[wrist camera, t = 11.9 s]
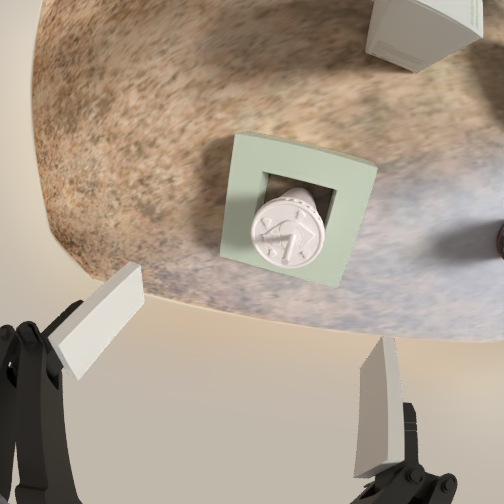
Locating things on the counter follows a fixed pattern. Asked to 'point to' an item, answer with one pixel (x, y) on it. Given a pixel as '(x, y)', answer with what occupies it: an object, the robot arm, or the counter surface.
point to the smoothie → (288, 230)
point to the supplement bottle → (501, 243)
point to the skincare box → (422, 30)
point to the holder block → (305, 169)
